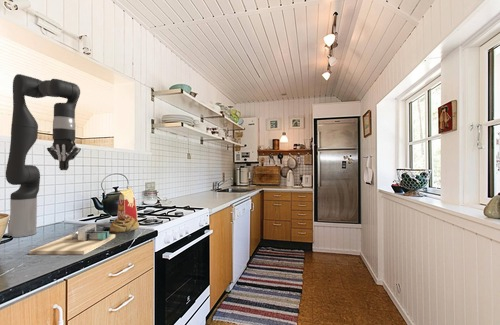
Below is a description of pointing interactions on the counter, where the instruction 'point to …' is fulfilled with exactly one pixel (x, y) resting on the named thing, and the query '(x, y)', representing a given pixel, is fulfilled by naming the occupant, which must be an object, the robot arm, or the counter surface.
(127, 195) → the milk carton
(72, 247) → the board
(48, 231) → the counter surface
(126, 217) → the pastry
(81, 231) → the grey l-shaped block
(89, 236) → the tong arm
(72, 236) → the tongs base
